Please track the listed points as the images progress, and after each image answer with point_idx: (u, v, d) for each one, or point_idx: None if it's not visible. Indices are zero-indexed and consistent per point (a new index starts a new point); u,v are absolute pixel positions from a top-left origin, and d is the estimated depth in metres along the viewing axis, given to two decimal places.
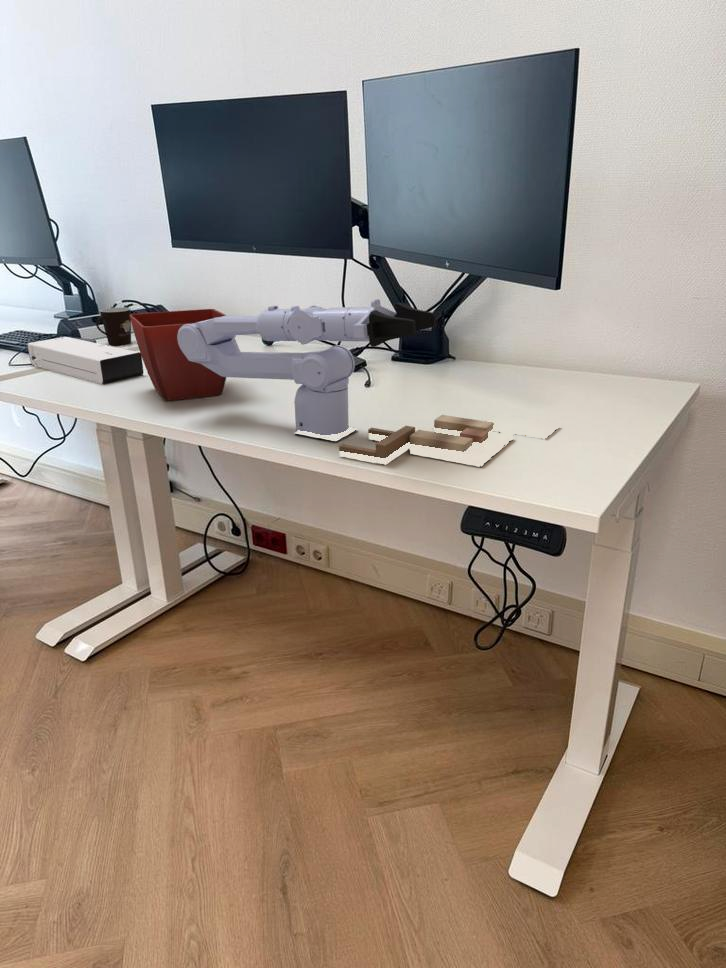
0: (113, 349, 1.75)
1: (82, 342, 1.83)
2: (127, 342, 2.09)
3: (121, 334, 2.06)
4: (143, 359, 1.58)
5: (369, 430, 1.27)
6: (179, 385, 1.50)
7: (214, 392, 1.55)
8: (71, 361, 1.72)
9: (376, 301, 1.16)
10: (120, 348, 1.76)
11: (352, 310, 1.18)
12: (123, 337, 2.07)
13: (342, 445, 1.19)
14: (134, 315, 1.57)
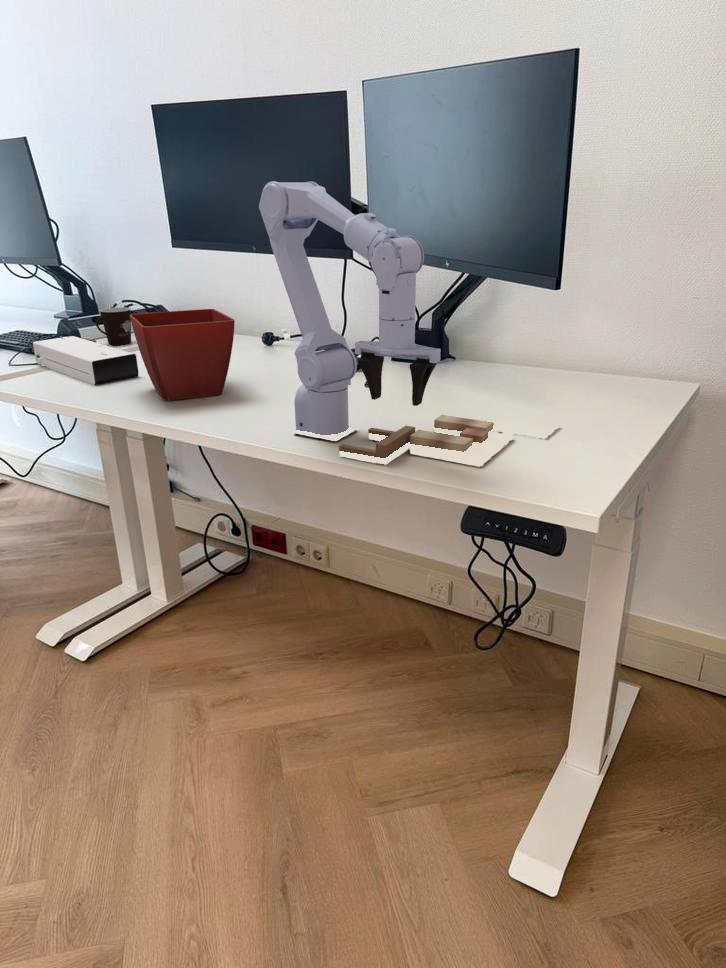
0: (110, 350, 1.74)
1: (85, 342, 1.84)
2: (127, 342, 2.09)
3: (121, 334, 2.06)
4: (143, 359, 1.58)
5: (369, 430, 1.27)
6: (179, 385, 1.50)
7: (214, 392, 1.55)
8: (68, 361, 1.72)
9: (384, 353, 1.10)
10: (118, 349, 1.75)
11: (382, 325, 1.10)
12: (123, 337, 2.07)
13: (342, 445, 1.19)
14: (134, 315, 1.57)
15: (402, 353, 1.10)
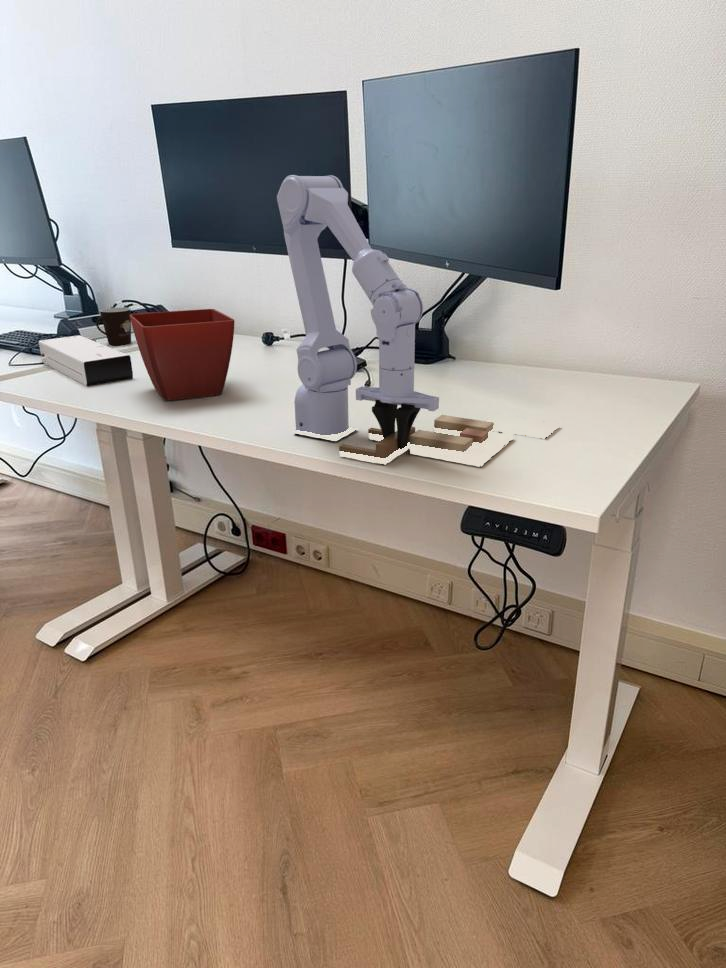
0: (108, 350, 1.73)
1: (87, 342, 1.84)
2: (127, 342, 2.09)
3: (121, 334, 2.06)
4: (143, 359, 1.58)
5: (369, 430, 1.27)
6: (179, 385, 1.50)
7: (214, 392, 1.55)
8: (66, 361, 1.72)
9: (384, 402, 1.13)
10: (115, 350, 1.74)
11: (382, 374, 1.13)
12: (123, 337, 2.07)
13: (342, 445, 1.19)
14: (134, 315, 1.57)
15: (401, 401, 1.13)
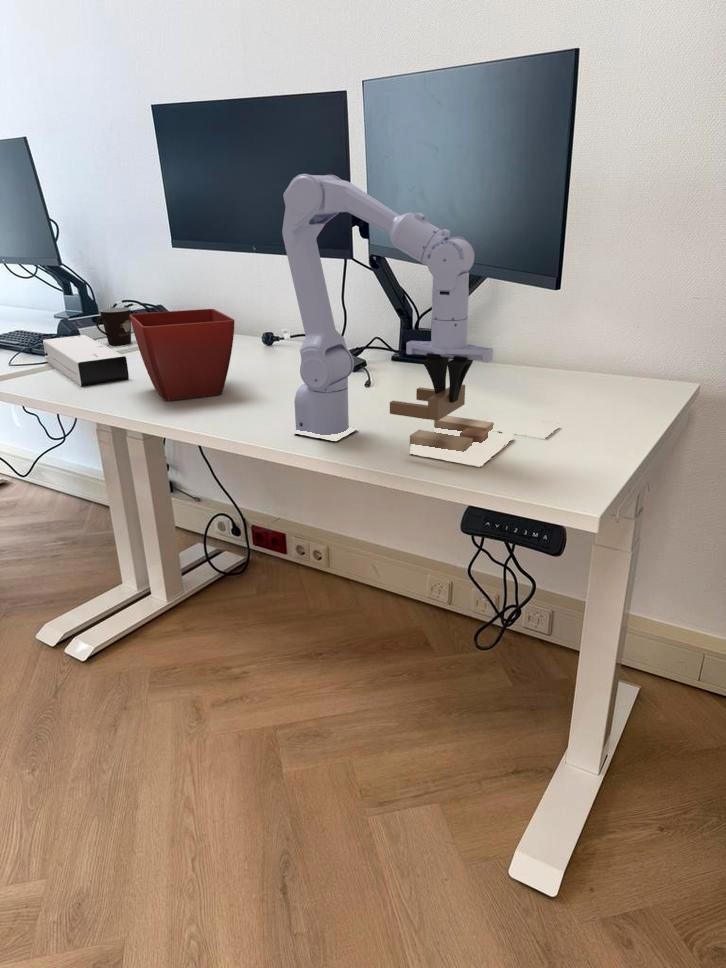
0: (106, 351, 1.73)
1: (89, 342, 1.84)
2: (127, 342, 2.09)
3: (121, 334, 2.06)
4: (143, 359, 1.58)
5: (417, 390, 1.25)
6: (179, 385, 1.50)
7: (214, 392, 1.55)
8: (64, 361, 1.72)
9: (437, 353, 1.12)
10: (113, 350, 1.74)
11: (435, 325, 1.12)
12: (123, 337, 2.07)
13: (393, 401, 1.18)
14: (134, 315, 1.57)
15: (455, 353, 1.12)
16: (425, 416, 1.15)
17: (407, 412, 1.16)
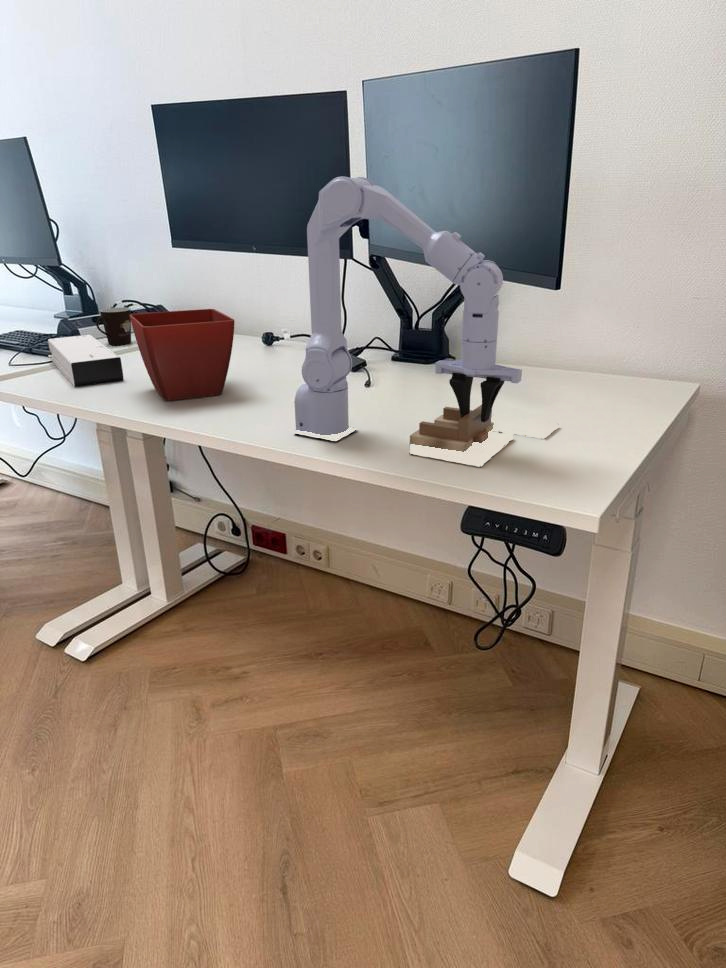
0: (103, 351, 1.72)
1: (91, 342, 1.84)
2: (127, 342, 2.09)
3: (121, 334, 2.06)
4: (143, 359, 1.58)
5: (444, 409, 1.28)
6: (179, 385, 1.50)
7: (214, 392, 1.55)
8: (62, 361, 1.73)
9: None
10: (110, 351, 1.73)
11: (465, 346, 1.14)
12: (123, 337, 2.07)
13: (422, 422, 1.20)
14: (134, 315, 1.57)
15: (485, 373, 1.14)
16: (455, 437, 1.17)
17: (437, 433, 1.19)
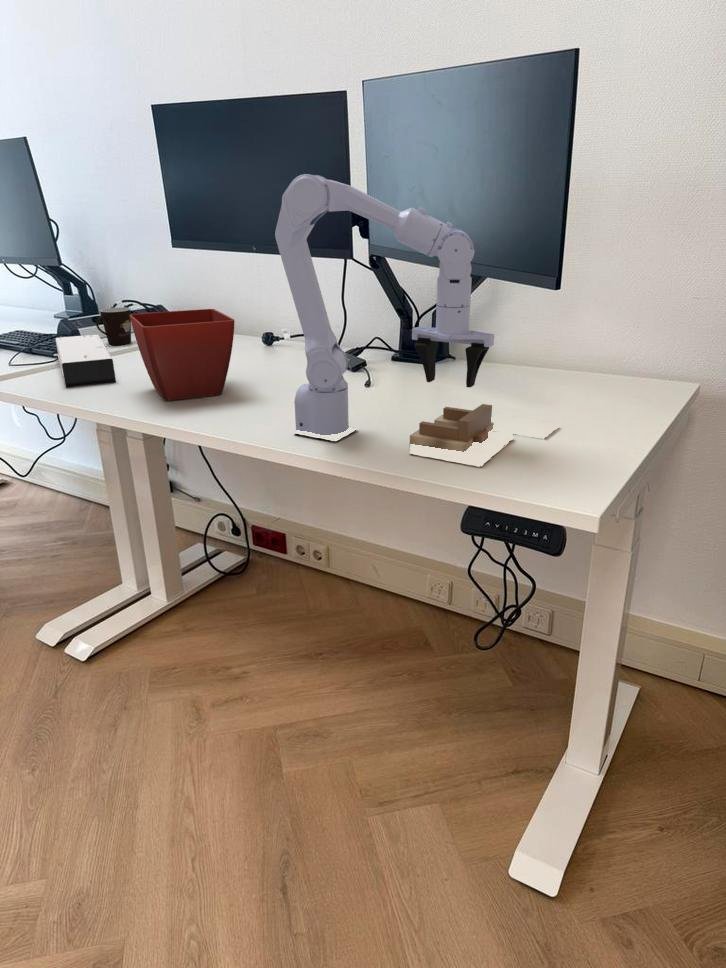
0: (99, 352, 1.72)
1: (94, 342, 1.84)
2: (127, 342, 2.09)
3: (121, 334, 2.06)
4: (143, 359, 1.58)
5: (444, 409, 1.28)
6: (179, 385, 1.50)
7: (214, 392, 1.55)
8: None
9: (442, 338, 1.19)
10: (106, 352, 1.72)
11: (440, 312, 1.19)
12: (123, 337, 2.07)
13: (422, 422, 1.20)
14: (134, 315, 1.57)
15: (458, 338, 1.19)
16: (455, 437, 1.17)
17: (437, 433, 1.19)
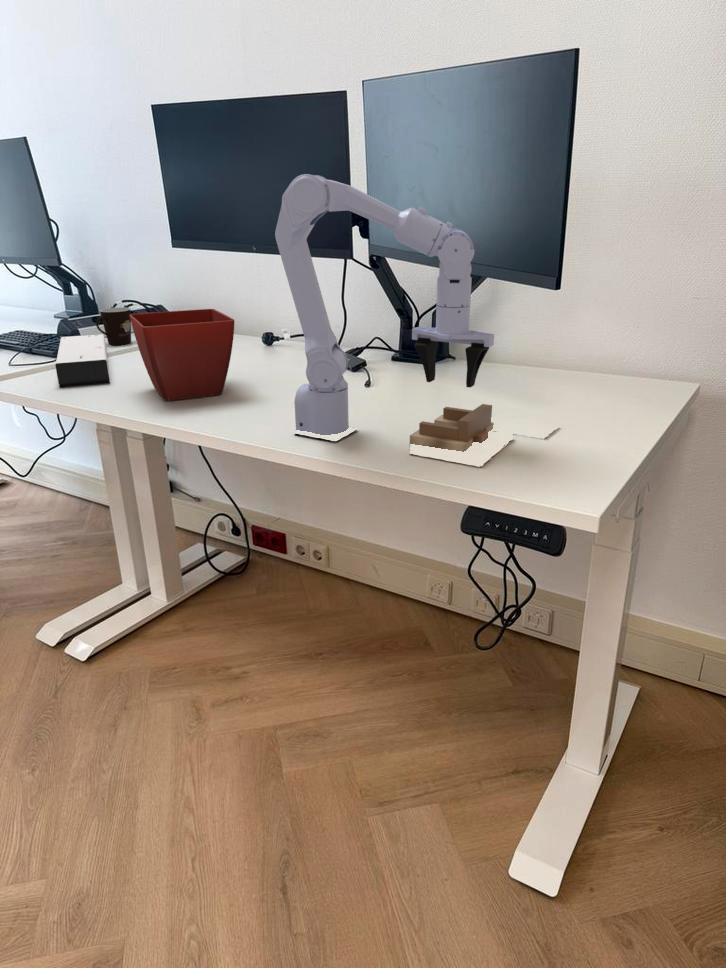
0: (96, 353, 1.71)
1: (96, 342, 1.84)
2: (127, 342, 2.09)
3: (121, 334, 2.06)
4: (143, 359, 1.58)
5: (444, 409, 1.28)
6: (179, 385, 1.50)
7: (214, 392, 1.55)
8: None
9: (442, 338, 1.19)
10: (103, 353, 1.71)
11: (440, 312, 1.19)
12: (123, 337, 2.07)
13: (422, 422, 1.20)
14: (134, 315, 1.57)
15: (458, 338, 1.19)
16: (455, 437, 1.17)
17: (437, 433, 1.19)
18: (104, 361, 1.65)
